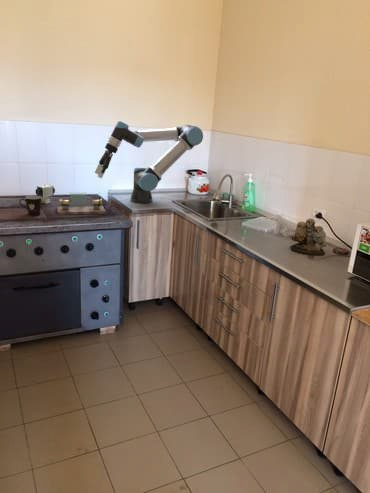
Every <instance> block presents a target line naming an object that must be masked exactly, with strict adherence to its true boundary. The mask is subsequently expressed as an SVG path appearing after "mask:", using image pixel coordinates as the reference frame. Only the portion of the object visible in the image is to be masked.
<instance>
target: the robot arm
mask: <svg viewBox="0 0 370 493" xmlns="http://www.w3.org/2000/svg"><path fill="white" fill-rule="evenodd" d="M203 140H204V132H203V130H202V129H201V128H200V127H198V126H195V125H191V124H187V125H180V126H174V127H173V128H161V129H144V130H143V129H140V130H132V129H130V125H129V124H127V123H125V122H124V121H122V120H117V122H116V124H115V125H114V128H113V130H112V132H111V135H110V136H108V141H107V143H106V145H105V147H104V149H106V150H105V151H104V153H103V155H102V156H101V158H100V159H99V161H98V164H97V166H96V169H95V171H94V173H95V174H96V175H97V178H100V179H101V180H102V179H103V177H104V175H105V173H106V171H107V169H109V167H110V163H111V161H112V157H113V156H114V154H117V153H118V150H119V147H120V146H121V144H122V142H123V141H125V142H126V143H128V144H130V145H132V146H133V147H136V148H137V149H139V148H141V147H142V145H143V143H147V142H163V141H173V142H175V143H174V144H173V145H172V146H171V147H170V148H169V149H168V150H166V152H165V153H164V154H163V155H162V156H161V157H160V158H159V159H158V160H157V161H156V162H155V163H154V164H153V165H151V166H148V167H134V170H133V190H132V192H131V195H130V201H131V202H133V203H139V204H147V203H148V204H149V203H152V202H153V196H152V191H154V190H155V189H156V188H157V187H158V185H159V182H160V181H161V180H162V176H163V175H164V174H165V173H166V172H167V171H168V170H169V169H170V168H171V167H172V166H174V164H175V163H176V162H177V161H178V160H179V159H180V158H181V157H182V156H183V155H184V154H185V153H186V152H187V151H191V150H192V149H193V148H195V147H197V146H199V145H200V144H201V143H202V142H203Z"/></svg>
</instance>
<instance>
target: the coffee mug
mask: <svg viewBox="0 0 370 493" xmlns="http://www.w3.org/2000/svg"><path fill="white" fill-rule="evenodd" d="M22 200H23V201H24V202H25V203H26V206H25V205H23V204H22V203H21V201H22ZM41 200H42V197H40V196H37V195H27V196H25V197H24V198H20V199H19V201H18V202H19V205H20V206H21V207H23V208H24V209H26V210H27V214H28V216H31V217H32V216H33V217H36V216H37V217H38V216H40V215H41V206H42V202H41Z"/></svg>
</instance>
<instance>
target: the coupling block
mask: <svg viewBox="0 0 370 493" xmlns="http://www.w3.org/2000/svg"><path fill="white" fill-rule="evenodd" d="M88 200H89V199H88V193H87V192H70V193H69V207H79V206H88V203H89V202H88Z"/></svg>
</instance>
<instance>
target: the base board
mask: <svg viewBox="0 0 370 493" xmlns="http://www.w3.org/2000/svg"><path fill="white" fill-rule="evenodd" d="M55 209H56V213H57V215H60V216H61V215H62V216H63V215H64V216H65V215H101V214H102V215H105V214H107V210H106V209H105V208H104V206H103V205H102V206H100V210H94V209H93V205H92V206H90V205H89V206H88V205H87V206H79V207H71V206H69V210H62V207H60V206H56V208H55Z"/></svg>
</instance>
